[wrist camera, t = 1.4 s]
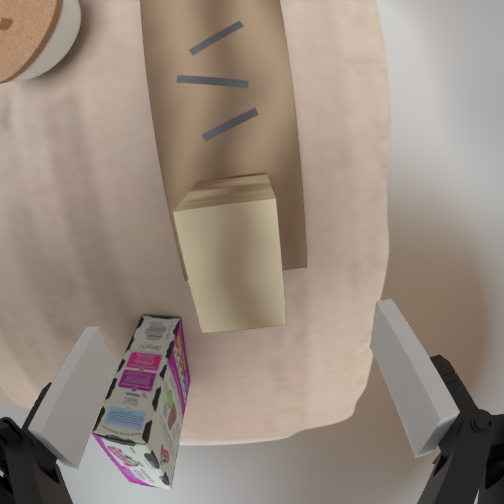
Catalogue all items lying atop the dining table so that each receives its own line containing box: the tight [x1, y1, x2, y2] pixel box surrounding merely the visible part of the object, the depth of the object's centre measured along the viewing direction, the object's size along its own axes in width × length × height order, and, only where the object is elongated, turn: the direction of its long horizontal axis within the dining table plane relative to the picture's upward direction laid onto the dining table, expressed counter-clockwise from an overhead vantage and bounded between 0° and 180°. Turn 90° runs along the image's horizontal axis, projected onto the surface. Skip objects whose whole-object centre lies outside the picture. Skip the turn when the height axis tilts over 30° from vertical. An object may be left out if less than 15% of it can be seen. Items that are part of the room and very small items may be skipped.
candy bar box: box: [92, 315, 190, 489], centre depth 27 cm, size 11×5×16 cm, turn 179°
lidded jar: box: [0, 0, 81, 84], centre depth 15 cm, size 11×11×9 cm
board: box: [140, 0, 307, 281], centre depth 23 cm, size 12×30×1 cm, turn 7°
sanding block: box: [173, 172, 286, 333], centre depth 23 cm, size 6×9×9 cm, turn 7°
